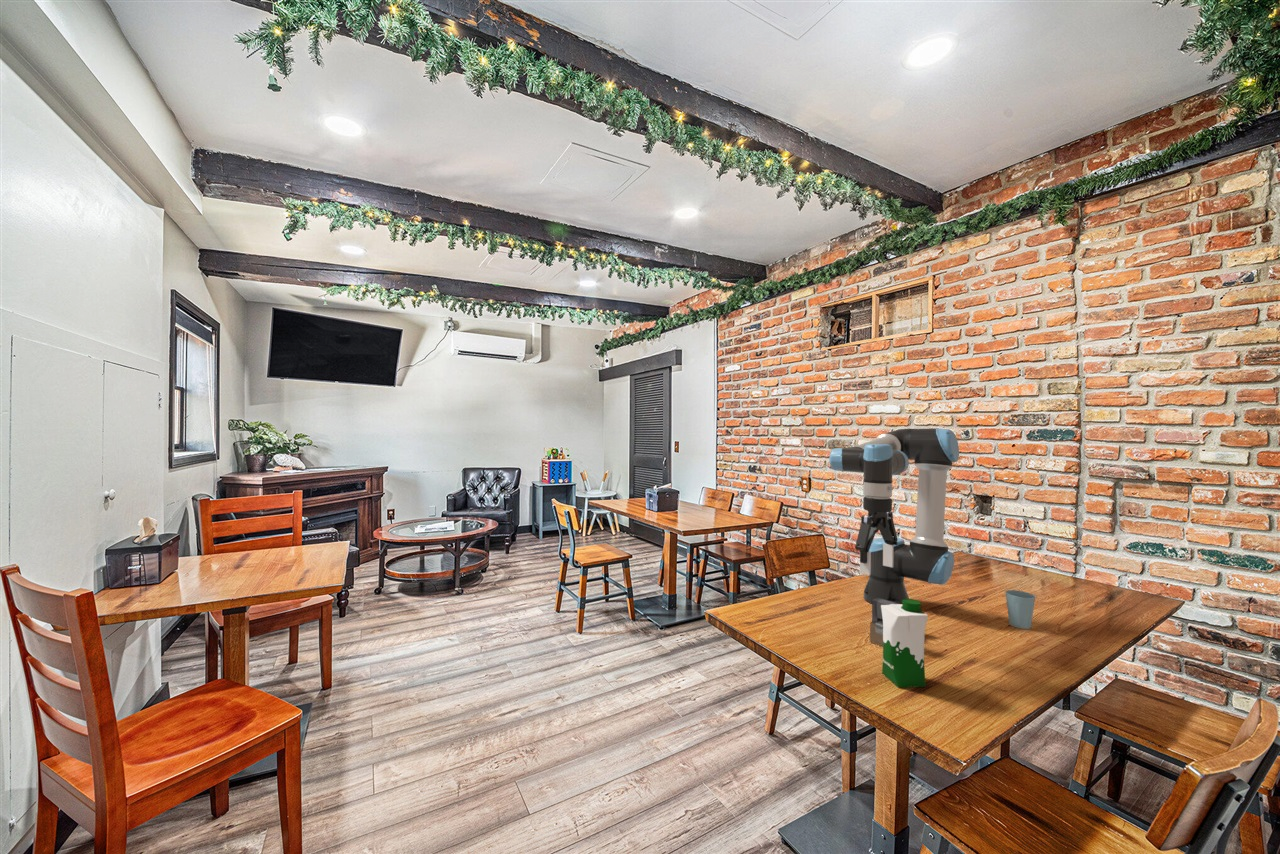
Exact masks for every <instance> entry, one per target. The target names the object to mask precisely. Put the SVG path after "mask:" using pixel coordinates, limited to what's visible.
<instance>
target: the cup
mask: <svg viewBox="0 0 1280 854" xmlns="http://www.w3.org/2000/svg"><path fill="white" fill-rule="evenodd" d="M1005 598H1006V607H1007V615H1008V622H1009V625H1010V626H1011V627H1015V628H1017V629H1022V630H1029V629H1031V628H1032V623H1033V622H1032V621H1033V615H1034V610H1035V607H1034V606H1035V603H1036V595H1034V594H1032V593H1030V592H1026V591H1022V590H1016V589H1007V590H1005Z"/></svg>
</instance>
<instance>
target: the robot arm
mask: <svg viewBox="0 0 1280 854" xmlns="http://www.w3.org/2000/svg"><path fill="white" fill-rule="evenodd" d="M959 457H960V447H959V441H958V438H957V436H956V434H955V432H954V431H953V430H951V429H948V428H937V427H936V428H909V427H908V428H901V429H896V430H892V431H888V432H885V433H882V434H880V435H878V436H877V437H876V438H875V439H873V440H870V441H866V442H864V443H860V444H858V445H854V446H851V447H849V448H845V447H844V448H843V447H839V448H837V447H836V448H833V449H832V450H831V451H830V453H829V461H828V462H829V465H830V468H831V470H834V471H838V472H848V473H849V472H850V473H862V474H863V489H862V490H863V496H864V497H863V503H862V504H863V506H862V508H863V510H864V511H867V515H864V514H862V515H861V518H860V519H861V521H860V526H859V530H858V534H857V539H856V543H855V547H854V549H855V550H857V551H859V574H861V575H865V576H868V578H867V582H866V584H865V588H864V590H863V599H864V601H866V602H867V603H869V604H871V605H872V600H874V599H876V598H880V599H884V600H887V601H891V602H894V603H898V604H902V602H903V599H910V597H909V594H908V591H907V588H906V585H905V578H906V579H911V580H915V581H920V582H924V583H927V584H935V585H945V584H946V583H948V581H949V580H950V578H951V576H952V573H953V571H954V567H955V566H954V564H955V554H954V553H953V552H952V551H949V544H947V543H946V542H945V541H944V538H945V537H944V534H945V514H946V495H947V493H946V492H947V474H948V471H950V470H951V469H952V468H953V463H957V462H958V461H959V459H960V458H959ZM910 460H911V461H913V462H914V463H913V464H914V466H915V467H916V468H917V469H918V477H917V479H918V481H917V496H916V497H917V498H916V513H915V514H916V515H915V517H916V518H915V533H914V536H913V538H911V539H910V540H909V544H905V543H906V542H905V540H904V539H903V538H899V537H898V535H897V532H896V531H897V530H896V527H895V523H894V517H893V516H894V514H893V512H892V510H893V500H892V498H891V497H892V496H893V490H894V487H893V476H897V475H900V474H902V473H904V472H905V471H907V469H908V467H909V466H910ZM878 532H879V533H880V534H881V536H882V537H878V538H875V536H876V534H877V533H878Z"/></svg>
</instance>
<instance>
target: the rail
mask: <svg viewBox="0 0 1280 854" xmlns="http://www.w3.org/2000/svg"><path fill="white" fill-rule="evenodd" d="M869 623H870V624H869V628H870V629H869V643H870V642H871V644H873V645H876V644H877V645H876V646H878V645H879V647H881V646H882V648H883V620H880V621H878V622H876V621H872V620H871V621H870V622H869Z"/></svg>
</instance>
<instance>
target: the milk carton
mask: <svg viewBox="0 0 1280 854" xmlns="http://www.w3.org/2000/svg"><path fill="white" fill-rule="evenodd" d="M881 610H882V618H883V647H882V667H881V668H882V670H881V671H882V672H881V674H882V675H883V674H884V675H885V676H884V675H883V676H884V677H886V678H887V679H888V680H889V681H890V682H891V681H892V682H891V683H893V684H894V685H895V686H896V687H897V688H899V689H900V688H902V689H903V688H904V689H905V688H924V687H926V675H925V674H926V673H925V670H926V669H925V631H926V627H927V622H928V617H929V615H928V614H927V613H925V612H923V611H922V610H921V602H920V601H918V600H917V599H913V598H909V599H903V602H902V604H890V605H881Z"/></svg>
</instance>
